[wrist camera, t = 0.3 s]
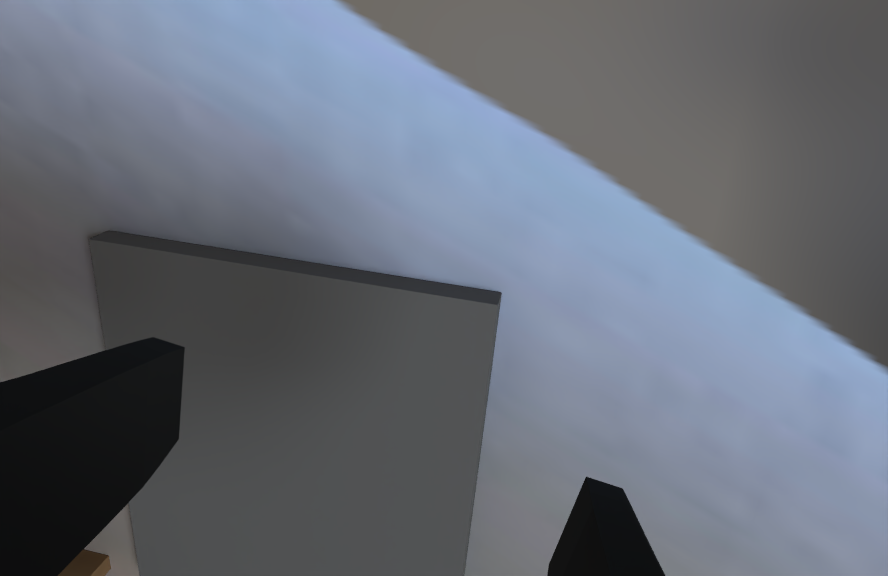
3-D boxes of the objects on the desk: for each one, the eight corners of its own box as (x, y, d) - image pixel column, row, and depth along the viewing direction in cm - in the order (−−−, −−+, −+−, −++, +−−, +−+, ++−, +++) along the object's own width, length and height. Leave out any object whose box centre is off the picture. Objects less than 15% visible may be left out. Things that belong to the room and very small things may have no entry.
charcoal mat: (455, 638, 26) (451, 660, 25) (154, 564, 28) (140, 582, 27) (501, 292, 20) (498, 305, 19) (109, 230, 22) (88, 239, 21)
